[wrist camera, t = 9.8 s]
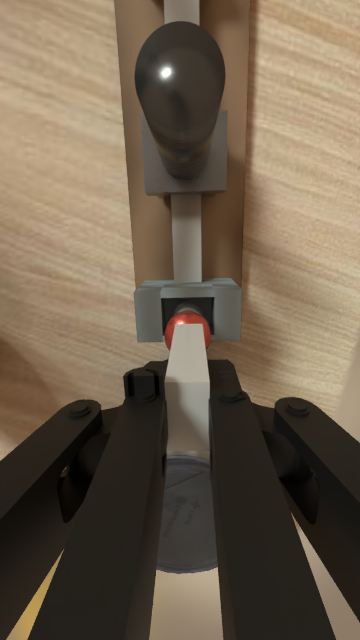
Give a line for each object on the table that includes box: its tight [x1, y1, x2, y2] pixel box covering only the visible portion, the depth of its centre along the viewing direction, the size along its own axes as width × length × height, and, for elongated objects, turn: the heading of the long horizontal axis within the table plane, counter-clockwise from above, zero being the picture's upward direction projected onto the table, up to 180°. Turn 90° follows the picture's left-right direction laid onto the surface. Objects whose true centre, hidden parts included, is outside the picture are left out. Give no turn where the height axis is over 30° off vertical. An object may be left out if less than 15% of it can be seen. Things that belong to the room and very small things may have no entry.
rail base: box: [114, 0, 250, 342], centre depth 22 cm, size 10×26×7 cm, turn 2°
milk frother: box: [156, 359, 218, 574], centre depth 25 cm, size 14×16×15 cm
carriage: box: [134, 21, 228, 199], centre depth 17 cm, size 6×5×14 cm
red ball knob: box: [165, 301, 211, 350], centre depth 20 cm, size 3×3×5 cm
